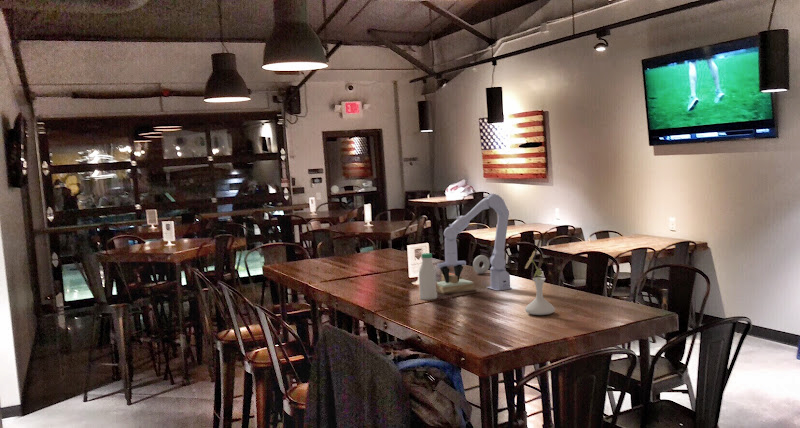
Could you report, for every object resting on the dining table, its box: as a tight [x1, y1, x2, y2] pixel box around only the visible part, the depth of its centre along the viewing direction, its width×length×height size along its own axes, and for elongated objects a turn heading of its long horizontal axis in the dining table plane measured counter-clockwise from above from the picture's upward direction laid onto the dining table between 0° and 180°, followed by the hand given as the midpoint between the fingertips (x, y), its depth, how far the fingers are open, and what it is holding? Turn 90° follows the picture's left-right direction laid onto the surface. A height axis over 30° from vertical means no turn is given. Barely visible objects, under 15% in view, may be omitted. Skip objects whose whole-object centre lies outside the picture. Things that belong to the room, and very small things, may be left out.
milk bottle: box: [418, 252, 438, 301], centre depth 300 cm, size 8×8×20 cm
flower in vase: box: [524, 250, 556, 316], centre depth 260 cm, size 13×11×25 cm
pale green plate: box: [437, 274, 474, 287], centre depth 317 cm, size 10×15×4 cm
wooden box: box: [437, 282, 475, 295], centre depth 317 cm, size 11×16×3 cm
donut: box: [472, 254, 491, 275], centre depth 359 cm, size 10×4×10 cm, turn 116°
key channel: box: [440, 273, 463, 281], centre depth 330 cm, size 13×5×5 cm, turn 24°
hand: (452, 281), depth 317 cm, fingers open, 5 cm apart
